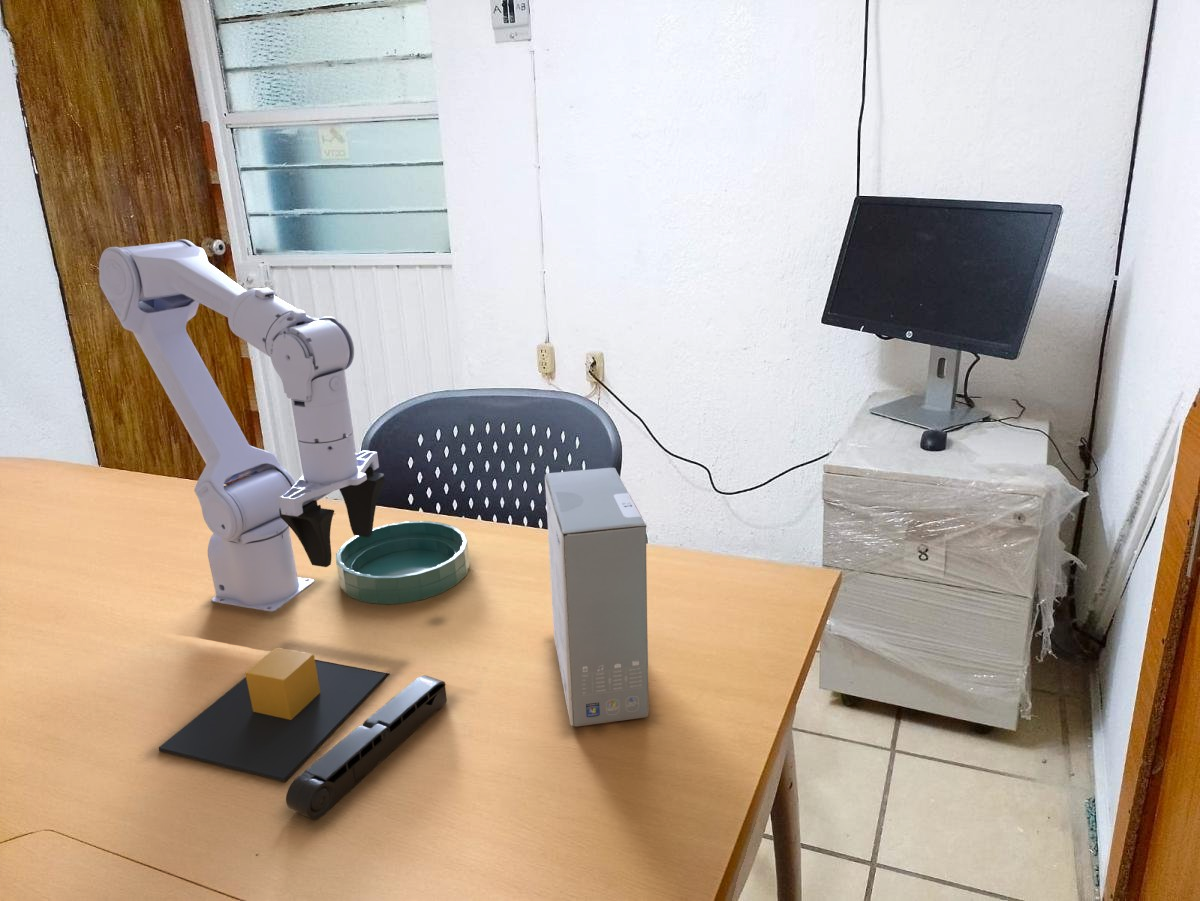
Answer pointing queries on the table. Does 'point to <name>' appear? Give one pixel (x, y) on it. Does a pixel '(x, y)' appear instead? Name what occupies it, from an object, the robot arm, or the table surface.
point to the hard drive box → (598, 595)
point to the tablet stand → (365, 748)
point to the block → (283, 683)
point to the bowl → (403, 562)
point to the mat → (273, 725)
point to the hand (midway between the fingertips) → (342, 549)
